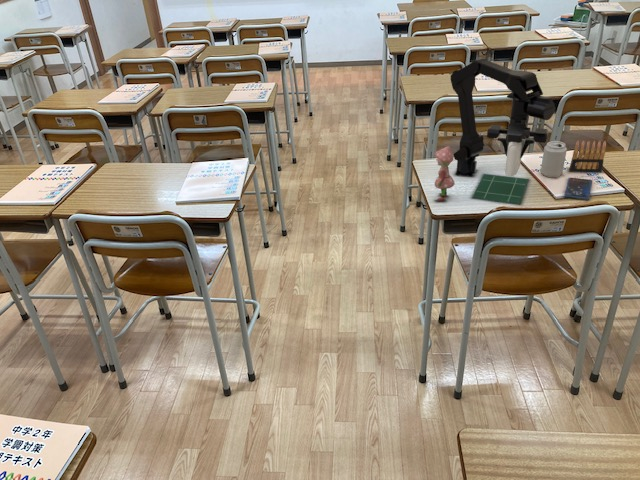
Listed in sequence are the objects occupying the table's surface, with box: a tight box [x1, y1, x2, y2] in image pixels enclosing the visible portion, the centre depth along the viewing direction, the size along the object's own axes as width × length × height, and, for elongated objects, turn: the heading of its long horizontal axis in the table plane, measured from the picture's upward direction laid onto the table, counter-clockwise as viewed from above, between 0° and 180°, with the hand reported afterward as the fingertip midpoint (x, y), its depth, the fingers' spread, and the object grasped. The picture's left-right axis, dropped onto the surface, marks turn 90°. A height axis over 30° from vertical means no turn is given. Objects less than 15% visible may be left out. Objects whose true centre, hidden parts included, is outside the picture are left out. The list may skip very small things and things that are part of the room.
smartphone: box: [564, 177, 593, 201], centre depth 169 cm, size 8×1×15 cm
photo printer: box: [504, 139, 525, 177], centre depth 167 cm, size 10×4×12 cm, turn 153°
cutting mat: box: [471, 173, 529, 205], centre depth 175 cm, size 16×20×1 cm
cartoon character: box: [434, 145, 455, 202], centre depth 168 cm, size 10×7×20 cm
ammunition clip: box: [568, 140, 607, 173], centre depth 177 cm, size 11×2×12 cm, turn 75°
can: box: [540, 140, 568, 178], centre depth 178 cm, size 8×8×12 cm
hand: (513, 156), depth 167 cm, fingers closed on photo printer, 4 cm apart
